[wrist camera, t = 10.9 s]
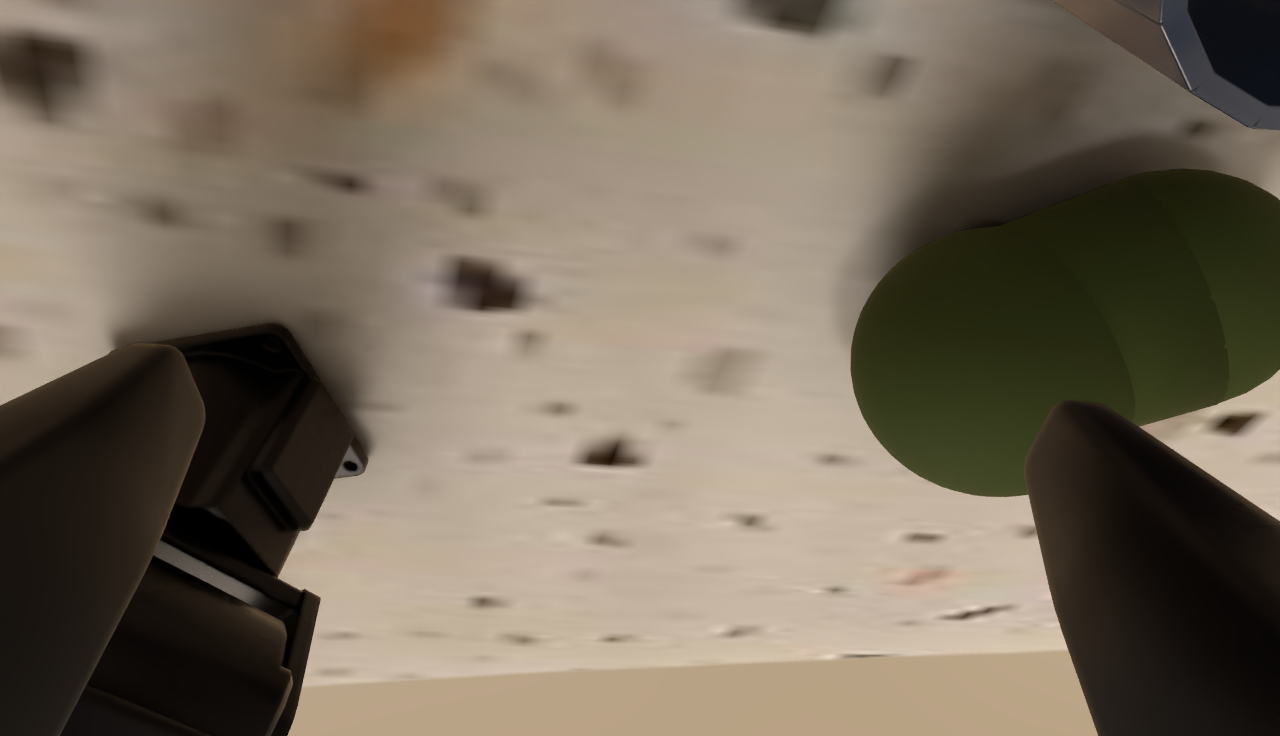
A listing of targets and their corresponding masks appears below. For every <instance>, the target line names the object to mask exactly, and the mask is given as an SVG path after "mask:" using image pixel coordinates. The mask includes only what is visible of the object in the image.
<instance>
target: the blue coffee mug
mask: <svg viewBox="0 0 1280 736" xmlns="http://www.w3.org/2000/svg"><path fill="white" fill-rule="evenodd" d="M1051 1H1053V2H1054V3H1056V4H1057V5H1059V6H1060V7H1062V8H1063V9H1065V10H1066V11H1068V12H1069V13H1071V14H1072V15H1074V16H1075V17H1077V18H1078V19H1080V20H1081V21H1083V22H1085V23H1086V24H1088V25H1089V26H1091V27H1092V28H1094V29H1095V30H1097V31H1098V32H1100V33H1101V34H1103V35H1104V36H1106V37H1107V38H1109V39H1110V40H1112V41H1113V42H1115V43H1116V44H1118V45H1119V46H1121V47H1122V48H1124V49H1125V50H1127V51H1128V52H1130V53H1131V54H1133V55H1134V56H1136V57H1137V58H1139V59H1140V60H1142V61H1143V62H1145V63H1146V64H1148V65H1149V66H1151V67H1152V68H1154V69H1156V70H1157V71H1159V72H1160V73H1162V74H1163V75H1165V76H1166V77H1168V78H1169V79H1171V80H1172V81H1174V82H1175V83H1177V84H1178V85H1180V86H1181V87H1183V88H1184V89H1186V90H1187V91H1189V92H1190V93H1192V94H1193V95H1195V96H1197V97H1198V98H1200V99H1202V100H1203V101H1205V102H1207V103H1208V104H1210V105H1212V106H1213V107H1215V108H1217V109H1218V110H1220V111H1222V112H1223V113H1225V114H1227V115H1228V116H1230V117H1232V118H1233V119H1235V120H1237V121H1238V122H1240V123H1242V124H1243V125H1245V126H1247V127H1251V128H1253V129H1267V130H1280V0H1051Z"/></svg>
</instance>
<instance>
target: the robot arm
mask: <svg viewBox="0 0 1280 736" xmlns="http://www.w3.org/2000/svg"><path fill="white" fill-rule="evenodd" d="M271 338H274V339H276V340H277V341H278V342H279V343H277V342H275V341H273V340H272V339H271ZM351 461H352V462H351ZM353 462H354V463H353ZM367 464H368V457H367V455H366V454H365V452H364V450H363V449H362V447H361V445H360V444H359V442H358V441H357V439H356V437H355V436H354V434H353V432H352V430H351V429H350V427H349V426H348V424H347V422H346V421H345V419H344V417H343V416H342V414H341V413H340V411H339V409H338V408H337V406H336V405H335V403H334V401H333V400H332V398H331V396H330V395H329V393H328V392H327V390H326V388H325V387H324V385H323V384H322V383H321V381H320V379H319V378H318V376H317V374H316V373H315V371H314V370H313V368H312V366H311V365H310V363H309V362H308V360H307V358H306V357H305V355H304V353H303V352H302V350H301V349H300V347H299V345H298V344H297V342H296V341H295V339H294V337H293V336H292V334H291V333H290V332H289V331H288V330H287V329H286V328H284V327H283V326H281V325H278V324H264V325H258V326H252V327H246V328H240V329H234V330H228V331H222V332H216V333H210V334H204V335H198V336H192V337H186V338H180V339H174V340H168V341H163V342H157V343H151V344H142V343H138V344H130V345H127V346H125V347H123V348H121V349H115V350H113V351H111V352H110V353H109V354H108V355H106V356H104V357H102V358H100V359H98V360H95V361H93V362H91V363H89V364H87V365H85V366H83V367H81V368H79V369H76V370H74V371H72V372H70V373H68V374H66V375H64V376H62V377H60V378H57V379H55V380H53V381H51V382H49V383H47V384H45V385H43V386H41V387H39V388H36V389H34V390H32V391H30V392H28V393H26V394H24V395H22V396H20V397H17V398H15V399H13V400H11V401H9V402H7V403H5V404H3V405H1V406H0V736H287V735H288V732H289V730H290V728H291V725H292V723H293V720H294V716H295V713H296V709H297V706H298V701H299V696H300V692H301V688H302V683H303V678H304V674H305V669H306V664H307V660H308V655H309V650H310V646H311V641H312V636H313V632H314V627H315V622H316V618H317V613H318V609H319V604H320V597H318V596H317V595H315V594H313V593H311V592H309V591H307V590H305V589H304V590H302V591H301V590H299V589H297V588H295V587H293V586H291V585H289V584H288V583H286V582H284V581H282V580H280V579H278V576H279V573H280V571H281V569H282V567H283V565H284V563H285V561H286V559H287V557H288V555H289V553H290V551H291V549H292V547H293V545H294V543H295V540H296V538H297V536H298V534H299V532H300V531H305V530H308V529H309V528H310V527H311V525H312V524H313V522H314V520H315V518H316V516H317V513H318V511H319V509H320V507H321V505H322V503H323V501H324V499H325V497H326V494H327V492H328V490H329V488H330V486H331V484H332V482H333V480H334V478H342V477H350V476H357V475H360V474H362V473H363V472H364V471H365V468H366V466H367ZM1024 473H1025V481H1026V486H1027V490H1028V495H1029V499H1030V504H1031V508H1032V513H1033V517H1034V521H1035V526H1036V530H1037V535H1038V539H1039V544H1040V548H1041V553H1042V557H1043V562H1044V566H1045V570H1046V575H1047V579H1048V584H1049V588H1050V592H1051V596H1052V600H1053V604H1054V607H1055V611H1056V614H1057V617H1058V620H1059V623H1060V627H1061V630H1062V633H1063V636H1064V638H1065V641H1066V644H1067V647H1068V650H1069V653H1070V656H1071V658H1072V662H1073V664H1074V667H1075V670H1076V673H1077V676H1078V678H1079V682H1080V685H1081V687H1082V690H1083V693H1084V696H1085V699H1086V702H1087V704H1088V708H1089V710H1090V713H1091V716H1092V719H1093V722H1094V725H1095V728H1096V731H1097V733H1098V736H1280V521H1278V520H1277V519H1275V518H1274V517H1272V516H1271V515H1269V514H1268V513H1266V512H1265V511H1263V510H1262V509H1260V508H1259V507H1257V506H1256V505H1255V504H1253V503H1252V502H1250V501H1249V500H1247V499H1246V498H1244V497H1243V496H1241V495H1240V494H1238V493H1237V492H1235V491H1234V490H1232V489H1231V488H1229V487H1228V486H1226V485H1225V484H1223V483H1222V482H1220V481H1219V480H1217V479H1216V478H1214V477H1213V476H1211V475H1210V474H1208V473H1207V472H1205V471H1204V470H1202V469H1201V468H1199V467H1198V466H1196V465H1195V464H1193V463H1192V462H1190V461H1189V460H1187V459H1186V458H1184V457H1183V456H1181V455H1180V454H1179V453H1177V452H1176V451H1174V450H1173V449H1171V448H1170V447H1168V446H1167V445H1165V444H1164V443H1162V442H1161V441H1159V440H1158V439H1156V438H1155V437H1153V436H1152V435H1150V434H1149V433H1147V432H1146V431H1144V430H1143V429H1141V428H1140V427H1138V426H1137V425H1135V424H1134V423H1132V422H1131V421H1129V420H1128V419H1126V418H1125V417H1123V416H1122V415H1120V414H1119V413H1117V412H1116V411H1114V410H1113V409H1111V408H1110V407H1108V406H1107V405H1105V404H1102V403H1099V402H1091V401H1074V400H1064V401H1060V402H1058V403H1057V404H1056V405H1054V406H1053V407H1052V409H1051V410H1050V412H1049V414H1048V416H1047V418H1046V420H1045V421H1044V423H1043V425H1042V427H1041V429H1040V431H1039V433H1038V435H1037V437H1036V439H1035V441H1034V443H1033V444H1032V446H1031V448H1030V450H1029V452H1028V454H1027V457H1026V461H1025V468H1024Z"/></svg>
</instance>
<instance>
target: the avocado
mask: <svg viewBox="0 0 1280 736" xmlns="http://www.w3.org/2000/svg"><path fill="white" fill-rule="evenodd" d="M1279 369H1280V200H1279V199H1278V198H1277V197H1275V196H1274V195H1272V194H1270V193H1269V192H1267V191H1265V190H1263V189H1261V188H1259V187H1258V186H1256V185H1254V184H1252V183H1250V182H1248V181H1246V180H1243V179H1240V178H1237V177H1233V176H1229V175H1226V174H1222V173H1218V172H1214V171H1209V170H1195V169H1172V170H1163V171H1154V172H1146V173H1142V174H1139V175H1135V176H1132V177H1128V178H1125V179H1121V180H1119V181H1116V182H1114V183H1111V184H1108V185H1106V186H1103V187H1100V188H1098V189H1095V190H1092V191H1090V192H1087V193H1085V194H1082V195H1079V196H1077V197H1074V198H1071V199H1069V200H1066V201H1063V202H1061V203H1058V204H1056V205H1053V206H1050V207H1048V208H1045V209H1042V210H1040V211H1037V212H1034V213H1032V214H1029V215H1027V216H1024V217H1021V218H1019V219H1016V220H1013V221H1011V222H1008V223H1005V224H1003V225H1000V226H998V227H984V228H975V229H970V230H966V231H961V232H957V233H954V234H951V235H948V236H945V237H942V238H939V239H937V240H935V241H933V242H930V243H928V244H926V245H925V246H923V247H921V248H919V249H917V250H916V251H914V252H913V253H911V254H910V255H908V256H907V257H906V258H904V259H903V260H901V261H900V262H899V263H898V264H897V265H896V266H895V267H893V268H892V269H891V270H890V271H889V272H888V273H887V274H886V275H885V276H884V277H883V279H882V280H881V281H880V282H879V283H878V285H877V286H876V288H875V289H874V290H873V292H872V293H871V295H870V297H869V298H868V300H867V302H866V304H865V306H864V307H863V309H862V311H861V314H860V316H859V319H858V322H857V325H856V328H855V332H854V336H853V341H852V346H851V376H852V382H853V388H854V393H855V396H856V399H857V402H858V405H859V408H860V410H861V413H862V415H863V417H864V419H865V421H866V423H867V424H868V426H869V428H870V429H871V431H872V433H873V434H874V436H875V437H876V438H877V439H878V441H879V442H880V443H881V444H882V446H883V447H884V448H885V449H886V450H887V451H888V452H889V453H890V454H891V455H892V456H893V457H894V458H895V459H896V460H898V461H899V462H900V463H901V464H903V465H904V466H905V467H907V468H908V469H909V470H911V471H912V472H914V473H915V474H917V475H919V476H920V477H922V478H924V479H926V480H929V481H931V482H933V483H935V484H937V485H939V486H941V487H945V488H948V489H951V490H954V491H958V492H962V493H966V494H971V495H977V496H987V497H1009V496H1021V495H1027V494H1028V490H1027V486H1026V481H1025V473H1024V468H1025V461H1026V457H1027V454H1028V452H1029V450H1030V448H1031V446H1032V444H1033V443H1034V441H1035V439H1036V437H1037V435H1038V433H1039V431H1040V429H1041V427H1042V425H1043V423H1044V421H1045V420H1046V418H1047V416H1048V414H1049V412H1050V410H1051V409H1052V407H1053V406H1054V405H1056V404H1057V403H1058V402H1060V401H1064V400H1074V401H1091V402H1099V403H1102V404H1105V405H1107V406H1108V407H1110V408H1111V409H1113V410H1114V411H1116V412H1117V413H1119V414H1120V415H1122V416H1123V417H1125V418H1126V419H1128V420H1129V421H1131V422H1132V423H1134V424H1135V425H1137V426H1138V427H1139V426H1143V425H1146V424H1150V423H1153V422H1157V421H1160V420H1164V419H1167V418H1171V417H1174V416H1178V415H1181V414H1185V413H1188V412H1192V411H1196V410H1199V409H1203V408H1206V407H1210V406H1213V405H1217V404H1218V403H1221V402H1223V401H1226V400H1229V399H1231V398H1234V397H1237V396H1239V395H1242V394H1245V393H1247V392H1248V391H1250V390H1252V389H1253V388H1255V387H1257V386H1258V385H1260V384H1262V383H1263V382H1265V381H1266V380H1268V379H1270V378H1271V377H1272V376H1273V375H1274V374H1275V373H1276V372H1277V371H1278V370H1279Z"/></svg>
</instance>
